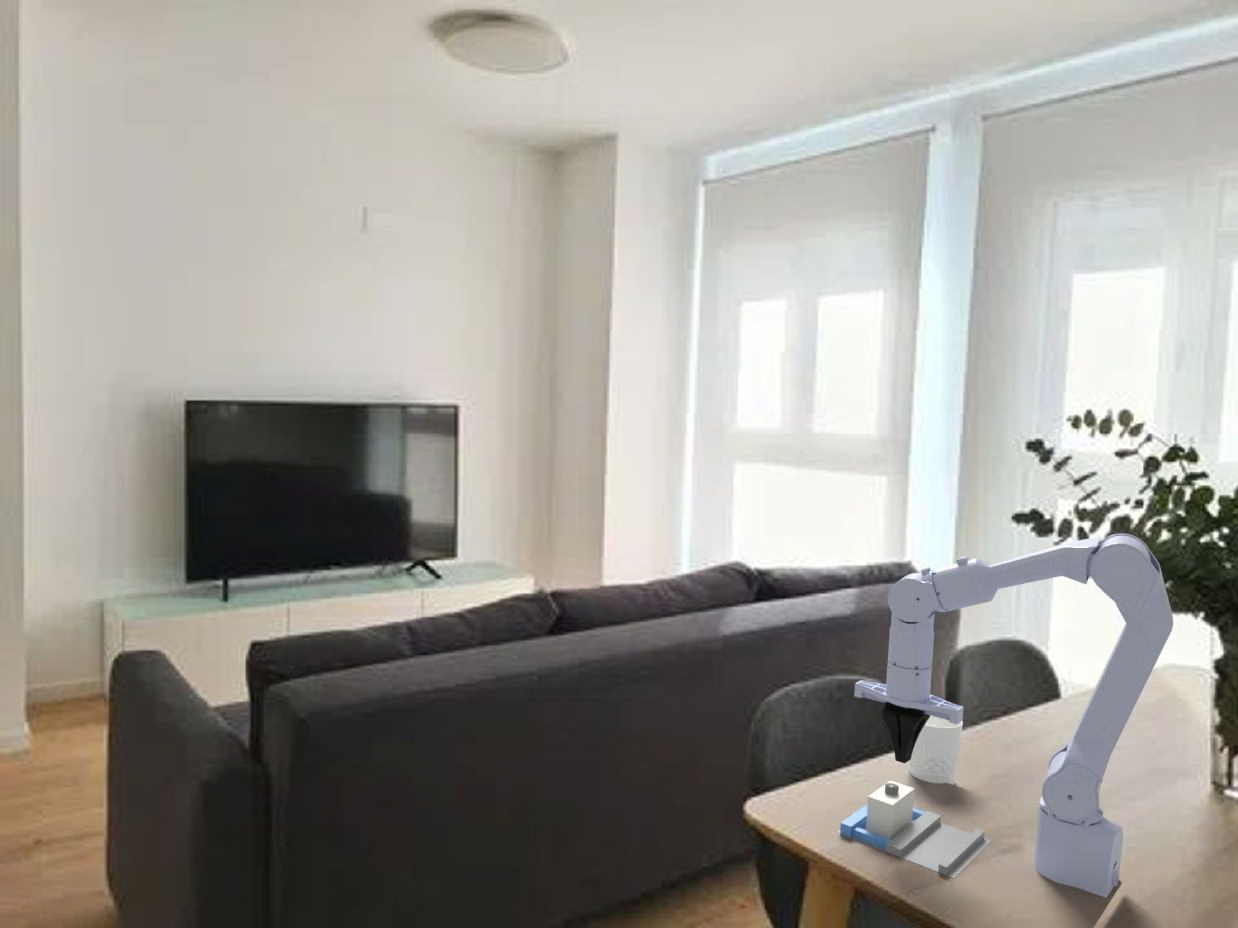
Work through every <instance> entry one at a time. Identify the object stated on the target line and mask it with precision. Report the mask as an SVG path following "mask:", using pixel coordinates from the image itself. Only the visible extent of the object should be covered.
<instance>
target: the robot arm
mask: <svg viewBox="0 0 1238 928" xmlns="http://www.w3.org/2000/svg"><path fill="white" fill-rule="evenodd" d="M955 562H956V563H954V564H950V565H945V566H942V567H939V568H935V569H931V568H930V566H929V567H924V568H922V569H921V570H920V573H919V572H913V573H909V574H907V575H905V576H904V577H902V578H900V580H898V581H897V582H895V583H894V584H893V585H892V586H891V588H890V590H889V591H888V595H887V603H888V604H887V605H888V608H889V609H890V612H891V619H890V620H891V621H890V623H891V624H890V627H889V635H888V636H889V638H888V639H889V640H888V653H887V666H886V683H877V682H872V681H867V680H862V679H861V680H859V681H857V682H855V683H854V694H853V695H854V697H855V698H860V699H862V698H865V699H869V700H873V701H875V702H881V703H884V704H885V706H884V708H883V709H882V710H881V717H882V719H883V721H884V723H885V725H886V727H887V729H888V732H889V735H890V739H891V742H892V747H893V752H894V759H895V762H899V763H902V764H906V763H909V760H911V756H912V752H913V749H914V746H915V743H916V741H917V738H918V736H919V734H920V732H921V730H922V728H923V727H924V725H925V723H926V722H927V720H928V719H929V717H930V716H935V717H938V718H942V719H946V720H949V722H950V723H953V724H958V723H960V722H961V721H963V719H964V706H962V705H960V704H959V705H958V704H955V703H953V702H950V701H948V700H945V699H942V698H940V697H938V696H935V695H933V694H931V687H932V686H931V685H932V684H931V683H932V670H933V658H934V657H933V655H934V644H935V643H934V641H935V631H934V625H935V612H939V613H940V612H941V613H947V612H951V611H955V610H961V609H964V608H967V607H968V608H969V607H972V606H976V605H980V604H985V603H989V602H992V601H993V599H994V598H995V596H996V595H997V592H998V590H1001V589H1005V588H1009V587H1015V586H1019V585H1024V584H1029V583H1034V582H1038V581H1043V580H1049V579H1053V578H1058V577H1065V578H1066V579H1069V580H1073V581H1076V582H1077V583H1081V584H1084V585H1087V584H1088V582H1089V579H1090V576H1091V579H1092V580H1093V582H1094V584H1095V585H1096V586H1097V587H1098V589H1100V591H1102V592H1103V593H1104V594H1105V595H1106V596H1107V597H1108V598H1109V599H1111V600H1112V601H1113V602H1114V603H1115V605H1116V607H1117V609H1118V611H1119V613H1120V615H1121V617H1122V618H1123V620H1124V622H1125V624H1124V626H1123V628H1122V631H1121V633H1120V634H1119V637H1118V639H1117V641H1116V643H1115V646H1114V647H1113V650H1112V652H1111V654H1110V656H1109V657H1108V660H1107V662H1106V664H1105V666H1104V669H1103V670H1102V673H1101V675H1100V676H1099V679H1098V681H1097V683H1096V685H1095V687H1094V689H1093V692H1092V694H1091V696H1090V697H1089V700H1088V702H1087V704H1086V706H1085V709H1084V710H1083V712H1082V715H1081V717H1080V719H1079V721H1078V723H1077V726H1076V728H1075V729H1074V730H1073V732H1072V733H1071V735H1070V737H1069V739H1068V741H1067V743H1066V744H1065V745H1064V746H1063V747H1062V748H1060V749H1059V750H1057V751H1056V752H1055V753H1053V754H1052V756H1051V757H1050V760H1049V762H1048V771H1047V775H1046V777H1045V780H1044V781H1043V782H1042V786H1041V787H1042V788H1041V797H1040V798H1039V804H1038V815H1037V823H1036V824H1037V825H1036V827H1037V828H1036V837H1035V849H1034V859H1033V861H1034V862H1033V866H1034V869H1035V870H1036V871H1037V872H1038V874H1040V875H1041V876H1043V877H1045V878H1046V879H1048V880H1050V881H1052V882H1055V883H1058V884H1061V885H1063V886H1069V887H1073V888H1077V889H1080V890H1083V891H1086V892H1089V893H1091V894H1094V895H1097V896H1099V897H1103V898H1105V899H1106V898H1108V896H1109V895H1110V893H1111V892H1112V890H1114V888H1115V887H1116V886H1118V883H1119V879H1120V871H1121V863H1122V862H1121V861H1122V859H1121V858H1122V850H1123V849H1122V848H1123V840H1124V838H1123V837H1124V832H1123V827H1122V826H1121V825H1119V824H1117V823H1114V822H1112V821H1111V820H1108V819H1107V818H1106V817H1104V812H1103V809H1102V808H1101V806H1100V794H1101V793H1100V792H1101V785H1102V784H1103V783H1102V782H1103V781H1104V776H1105V772H1106V771H1107V767H1108V763H1109V761H1110V758H1111V756H1112V753H1113V752H1114V749H1115V747H1116V745H1117V743H1118V741H1119V740H1120V737H1121V735H1122V733H1123V731H1124V729H1125V727H1126V726H1127V723H1128V721H1129V718H1130V717H1131V715H1132V713H1133V710H1134V708H1135V706H1136V704H1137V702H1138V700H1139V698H1140V697H1141V695H1142V692H1143V690H1144V688H1145V687H1146V684H1147V682H1148V680H1149V677H1150V676H1151V674H1152V672H1153V670H1154V667H1155V666H1156V663H1157V661H1158V660H1159V657H1160V656H1161V654H1162V651H1163V649H1164V647H1165V645H1166V643H1167V641H1168V639H1169V638H1170V635H1171V633H1172V631H1173V628H1174V627H1173V626H1174V616H1173V613H1172V607H1171V605H1170V602H1169V600H1170V599H1169V597H1168V592H1167V590H1166V589H1167V588H1166V585H1165V582H1164V577H1163V573H1162V568H1161V565H1160V562H1159V561H1158V560H1157V558H1156V557H1155V555H1154V554H1153V552H1152V551H1151V550H1150V548H1149V547H1148V545H1147V544H1146V543H1145V542H1144V541H1143V540H1142V539H1141V538H1139V537H1137V536H1135V535H1132V534H1129V533H1115V534H1112V535H1109V536H1106V537H1105V538H1104V539H1102V540H1101V537H1089V538H1084V539H1080V540H1079V539H1078V540H1075V541H1071V542H1066V543H1061V544H1058V545H1055V546H1052V547H1049V548H1045V549H1044V548H1043V549H1041V550H1038V551H1034V552H1031V553H1027V554H1024V555H1021V556H1017V557H1014V558H1010V559H1006V560H1004V561H1001V562H998V563H994V564H990V563H988V562H986V561H984V560H982V559H980V558H977V557H976V558H972V559H969V557H968V556H967V555H965V556H961V557H958V558H957V559H955Z"/></svg>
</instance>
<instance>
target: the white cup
mask: <svg viewBox="0 0 1238 928" xmlns="http://www.w3.org/2000/svg"><path fill="white" fill-rule="evenodd" d="M963 722H964V721H963V720H962V721H961V722H960V723H958V724H953V723H950V722H949V720H946V719H942V718H938V717H935V716H930V717H929V719H928V720H927V722H926V723H925V725H924V727H923V728H922V730H921V732H920V734H919V736H918V738H917V741H916V743H915V746H914V749H913V752H912V756H911V760H909V761H908V764H909V766H908V772H909V774H911V776H912V777H915V778H916V779H918V780H919V781H923V782H924V781H925V782H928V783H932V784H941V785H942V784H949V785H951V786H954V784H955V776H956V770H957V768H958V761H959V756H960V755H959V754H960V750H961V740H962V733H963V724H964V723H963Z"/></svg>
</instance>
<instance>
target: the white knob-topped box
mask: <svg viewBox="0 0 1238 928" xmlns="http://www.w3.org/2000/svg"><path fill="white" fill-rule="evenodd" d="M914 799H915V787H911V786H909V785H905V784H902V783H899V782H897V781H894V780H889V781H887V782H886V783H885V784H883V785H882V786H881V787H879V788H878V789H876V790H875V791H874V792H872V793H870V795H868V796H867V804H868V805H867V804H866V805H867V820H866V830H867V831H869V832H872V833H874V834H877V835H880V836H882V837H885V838H888V839H890V840H892V839H893V838H894V837H895V836H897V835H898V834H899V833H900V832H902V831H903V830H904V829H905V828H907V827H908V826H909V825H910V824H911V823H912V815H913V808H914V801H915V800H914Z"/></svg>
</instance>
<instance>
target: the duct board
mask: <svg viewBox="0 0 1238 928" xmlns="http://www.w3.org/2000/svg"><path fill="white" fill-rule="evenodd" d="M867 805H868V803H866V805H864V806H862V807H861V808H860V809H858V810H857V811H855V812H854V813H853V814H851V815H850V816H849V817H847V818H845V819H844V820H843V821H841V822H840V827H839V828H840V829H839V830H838V831H836V833H837V834H839V835H841V836H845V837H847V838H850V839H852V840H855V841H857V842H860V843H862V844H865V845H866V846H867V845H868V846H870V847H872V848H875V849H878V850H879V851H883V852H885V853H888V854H890V855H893V856H896V857H898V858H901V859H903V860H906V861H909V862H911V863H912V864H915V865H919V866H921V867H923V868H926V869H929V870H931V871H934V872H937V873H938V874H941V875H944V876H947V877H949V878H952V879H956V877H957V876H958V875H959V874H960V873H961V872H962V871H963V870H965V868H967V867H968V866H969V865H970V863H971V862H973V861H974V859H975V858H977V856H978V855H980V853H982V852H983V850H984V849H986V848H987V847H988V846H989V845H990V844H991V843H992V840H991V839H987V838H985V834H986V831H984V830H982V829H980V828H976V829H975V830H974V831H973V832H972V833H971V832H968V831H965V830H962V829H959V828H956V827H953V826H951V825H948V824H946V823H943V822H942V821H941V819H942V815H940V814H937V813H934V812H931V811H928V810H926V811H923V810H920V809H918V808H915V807H913V815H912V823H911V824H910V825H909V826H908V827H907V828H905V829H904V830H903V831H902V832H900V833H899V834H898V835H897V836H895V837H894V838H893V839H892V840H890V839H888V838H885V837H882V836H880V835H877V834H874V833H872V832H869V831H867V830H866V820H867Z"/></svg>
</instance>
